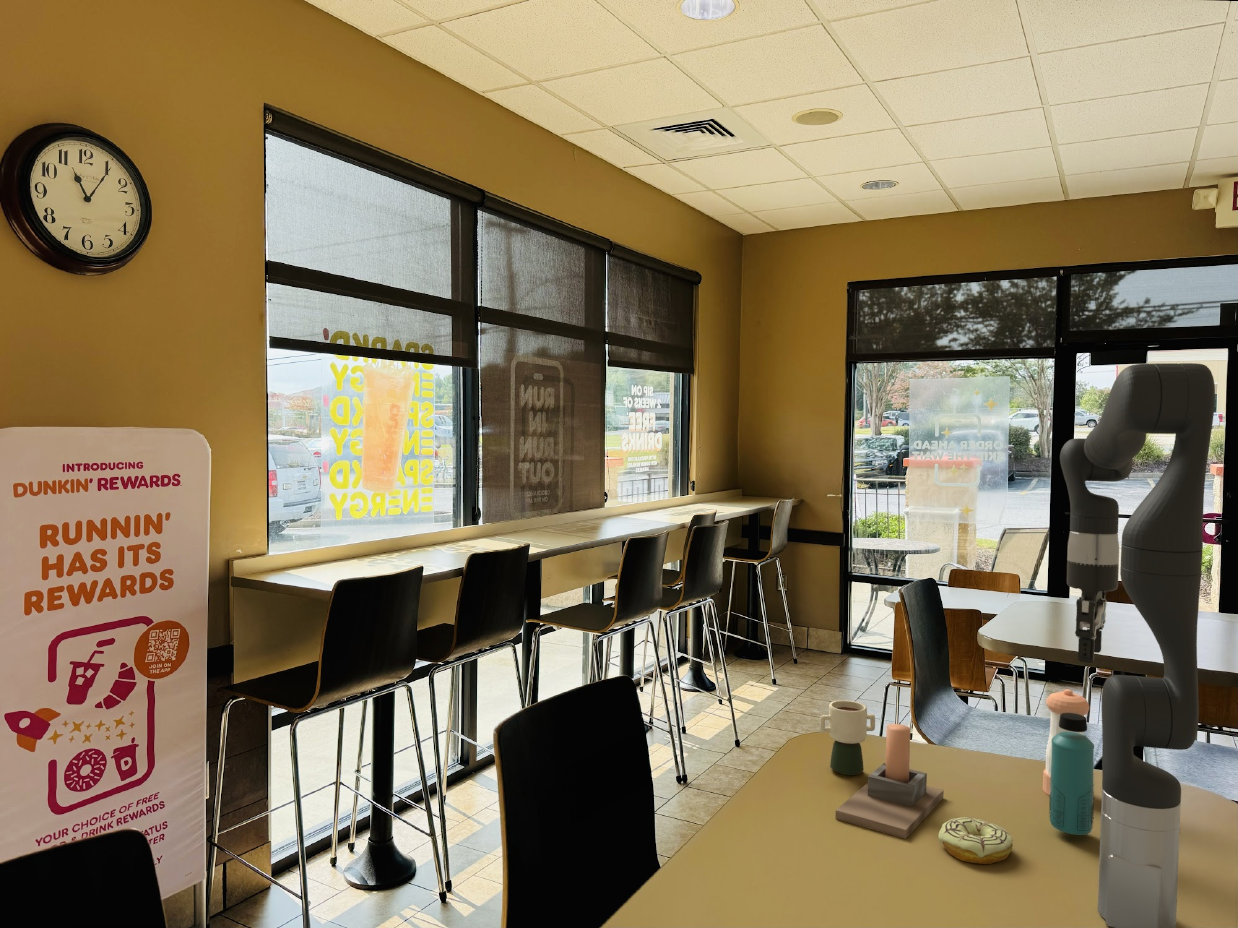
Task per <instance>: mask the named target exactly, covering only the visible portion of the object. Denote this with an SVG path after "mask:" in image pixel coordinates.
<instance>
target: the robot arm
mask: <svg viewBox="0 0 1238 928" xmlns="http://www.w3.org/2000/svg"><path fill="white" fill-rule="evenodd" d="M1215 402H1216V385H1215V380H1214V376H1213V373H1212V370H1211V369H1210V368H1209V367H1208V366H1207V365H1205V364H1203V363H1197V362H1196V363H1192V362H1189V363H1188V362H1187V363H1186V362H1185V363H1184V362H1182V363H1180V362H1179V363H1177V362H1176V363H1173V362H1172V363H1170V362H1169V363H1166V362H1165V363H1164V362H1163V363H1161V362H1160V363H1137V364H1136V363H1135V364H1132V365H1129V366H1127V367H1125V368H1123V369H1122V370H1121V371H1120V373H1119V374H1118V375H1117V376H1116V379H1115V380H1114V382H1113V384H1112V387H1111V389H1110V391H1109V395H1108V397H1107V399H1106V402H1105V405H1104V408H1103V411H1102V414H1101V416H1100V420H1099V421H1098V423H1097V424H1096V425H1095V426H1094V428H1092V430H1090V432H1089V433H1088V434H1087V436H1086V438H1079V437H1078V438H1072V439H1069V440H1068V441H1066V442H1065V443H1064V445H1063V446H1062V448H1061V450H1060V454H1059V461H1060V462H1059V463H1060V467H1061V470H1062V474H1063V478H1064V481H1065V483H1066V487H1067V492H1068V498H1069V503H1070V505H1069V506H1070V515H1069V516H1070V517H1069V521H1070V522H1069V530H1070V531H1069V535H1068V540H1067V558H1066V560H1067V561H1066V562H1067V563H1066V584H1067V586H1068V587H1069V588H1073V589H1077V590H1078V589H1079V590H1080V591H1081V596H1079V598H1077V599H1076V602H1075V605H1076V614H1075V616H1076V617H1075V622H1076V623H1075V631H1074V634H1075V637H1077V639H1078V648H1077V650H1078V651H1077V652H1078V653H1077V655H1078V656H1077V659H1078V661H1079V662H1081V663H1086V664H1092V663H1093V662H1094V660H1095V653H1097V654H1099V653H1101V651H1102V641H1103V640H1102V639H1103V638H1102V634H1103V633H1102V630H1104V628H1105V623H1106V617H1107V615H1106V614H1107V613H1106V610H1107V604H1108V603H1107V599H1106V595H1107V592H1114V591H1116V590H1117V589H1118V588H1119V575H1120V579H1121V584H1122V586H1123V587H1124V590H1125V592H1126V595H1128V597H1129V599H1130V600H1131V602H1132V603H1133V606H1135V608H1136V609H1137V611H1138V612H1139V614H1140V616H1141V617H1142V618H1143V619H1144V622H1145V623H1146V624H1147V627H1148V628H1150V629H1149V630H1150V631H1151V633H1152V634H1153V636H1154V638H1155V640H1156V642H1157V644H1158V646H1159V649H1160V652H1161V656H1162V659H1163V660H1162V661H1163V668H1164V671H1163V672H1164V673H1163V677H1152V676H1138V675H1125V674H1113V675H1110V676H1109V677H1107V678H1106V679H1105V681H1104V684H1103V685H1102V686H1103V687H1102V690H1101V691H1102V692H1101V729H1102V730H1101V733H1102V734H1101V735H1102V738H1101V740H1102V741H1101V742H1102V745H1101V746H1102V751H1101V752H1102V753H1101V754H1102V755H1101V762H1102V763H1101V767H1102V768H1101V769H1102V780H1101V808H1100V834H1099V835H1100V837H1099V838H1100V839H1099V865H1098V891H1097V893H1098V894H1097V895H1098V896H1097V899H1098V900H1097V910H1098V913H1099V915H1100V916H1101V918H1103V919H1104V920H1105V925H1106V926H1108V927H1110V928H1177V912H1178V911H1177V908H1178V879H1179V877H1178V876H1179V856H1180V855H1179V853H1180V852H1179V851H1180V849H1179V848H1180V825H1181V802H1182V787H1181V782H1180V781H1179V780H1178V778H1177V777H1176V776H1174V774H1172V773H1170V771H1169V772H1168V771H1167V770H1165V769H1164V768H1163V769H1162V768H1161V767H1158V766H1156V765H1153V764H1151V763H1149V762H1146V761H1145V760H1143V759H1141V758H1139V757H1138V756H1136V755H1135V754H1134V748H1135V747H1141V748H1151V749H1152V748H1153V749H1162V750H1177V751H1179V750H1180V751H1181V750H1182V751H1183V750H1184V751H1185V750H1188V749H1190V748H1192V746H1193V745H1194V743H1195V741H1196V738H1197V736H1198V735H1197V734H1198V728H1199V720H1200V719H1199V716H1200V715H1199V714H1200V711H1199V710H1200V709H1199V701H1200V700H1199V679H1198V678H1199V677H1198V676H1199V674H1198V651H1197V650H1198V620H1199V606H1200V605H1199V604H1200V594H1201V593H1200V592H1201V582H1202V581H1201V580H1202V570H1203V567H1202V566H1203V551H1204V550H1203V549H1204V547H1203V546H1204V545H1203V543H1204V542H1203V541H1204V539H1203V537H1204V534H1203V533H1204V500H1205V486H1206V484H1205V483H1206V474H1207V466H1208V460H1209V451H1210V445H1211V444H1210V443H1211V437H1212V431H1213V430H1212V429H1213V423H1214V415H1215V406H1216V405H1215V404H1216V403H1215ZM1147 434H1148V435H1149V434H1150V435H1151V434H1152V435H1153V434H1154V435H1156V434H1158V435H1159V434H1161V435H1174V434H1175V436H1174V444H1173V448H1172V452H1171V456H1170V458H1169V461H1168V464H1167V466H1166V468H1165V470H1164V472H1163V473H1162V475H1161V477H1160V478H1159V480H1158V481H1157V483H1156V484H1155V485H1154V486H1153V487H1152V489H1151V490H1150V491H1149V493H1147V495H1146V496H1145V498H1143V500H1142V501H1141V503H1139V504H1138V506H1137V507H1136V508H1135V510H1134V511H1133V512H1132V514H1131V515H1130V517H1129V518H1128V520H1127V521H1126V524H1125V525H1124V528H1123V531H1122V533H1121V534H1122V535H1121V543H1120V541H1119V513H1120V512H1119V511H1120V510H1119V509H1120V507H1119V502H1118V501H1117V500H1116V499H1115V498H1114V497H1111V496H1106V495H1102V494H1096V493H1093V492H1091V491H1090V490H1089V489H1088V487H1087V485H1086V484H1087V483H1086V482H1105V483H1106V482H1108V483H1109V482H1111V483H1113V482H1121V481H1123V480H1125V479H1127V478H1129V476H1130V475H1131V473H1132V469H1133V462H1134V461H1133V459H1134V458H1135V457H1136V456H1137V455H1138V454H1139V453H1141V451H1142V449H1143V448H1144V446H1145V444H1146V441H1147ZM1119 543H1120V544H1121V547H1120V544H1119ZM1120 548H1121V550H1120ZM1119 563H1120V564H1119ZM1119 565H1120V567H1119ZM1119 568H1120V569H1119ZM1119 570H1120V574H1119ZM1084 628H1087V629H1084Z"/></svg>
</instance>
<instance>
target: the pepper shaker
mask: <svg viewBox="0 0 1238 928" xmlns="http://www.w3.org/2000/svg"><path fill="white" fill-rule="evenodd" d="M1045 702H1046V705H1047V708H1048V710H1049V711H1050V718H1049V719H1050V722H1049V724H1050V725H1049V735H1048V741H1047V745H1046V750H1045V768H1044V769H1043V773H1042V776H1043V777H1042V791H1043V792H1044V793H1045V794H1046V795H1048V796H1050V792H1051V786H1050V785H1051V779H1050V778H1051V760H1052V742H1051V741H1052V738H1053V737H1054V736H1055V735H1057V734H1059V733H1060V732H1073V731H1068V730H1064V729H1062V728H1060V727H1059V720H1060V715H1061V714H1062V713H1076V714H1080V715H1082V716H1084V717H1085V716H1086V715H1087V714H1088V713H1089V711H1090V704H1089V701H1087V699H1086V698H1085V697H1084V696H1081V695H1080V694H1078V693H1074V692H1073V690H1071V689H1070V688H1069V689H1067V688H1066V689H1064V690H1062V691H1056V692H1053V693H1051V694H1049V695H1048V697H1047V698H1046V701H1045ZM1074 733H1079V734H1082V735H1084V736H1085V734H1084V733H1085V732H1074Z"/></svg>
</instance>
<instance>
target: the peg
mask: <svg viewBox="0 0 1238 928" xmlns="http://www.w3.org/2000/svg"><path fill="white" fill-rule="evenodd" d="M885 737H886V740H885V741H886V743H885V763H886V775H885V778H888V779H892V780H896V781H900V782H904V783H909V769H910V762H911V761H910V756H911V755H910V752H911V751H910V750H911V728H910V727H909V726H908V725H905V724H901V723H900V724H899V723H890V724H887V725H886V736H885Z"/></svg>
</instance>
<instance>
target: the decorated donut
mask: <svg viewBox="0 0 1238 928" xmlns="http://www.w3.org/2000/svg"><path fill="white" fill-rule="evenodd" d="M938 841H939V842H940V843H942V845H943V847H944V849H945V850H946V851H947V852H948V853H949V854H950V855H951V856H952V857H954V858H956V859H957V860H959V861H962V862H967V863H971V864H978V865H985V864H986V865H992V864H993V863H999V862H1001V861H1003V860H1006V859H1007V858H1008V857H1009V855H1010V853H1011V851H1012V850H1013V846H1014V845H1013V841H1014V840H1013V838H1012V836H1011V834H1010V833H1009V832H1008V831H1007V830H1006V829H1004V828H1003V827H1001V826H1000V825H999V824H998V825H997V824H996V823H993V822H992V823H991V822H990V821H987V820H984V819H981V818H980V819H979V818H975V817H969V816H965V817H964V816H962V817H955V818H950V819H949V820H948V821H945V822H944V823H942V825H941V828H940V830H939V832H938Z"/></svg>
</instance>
